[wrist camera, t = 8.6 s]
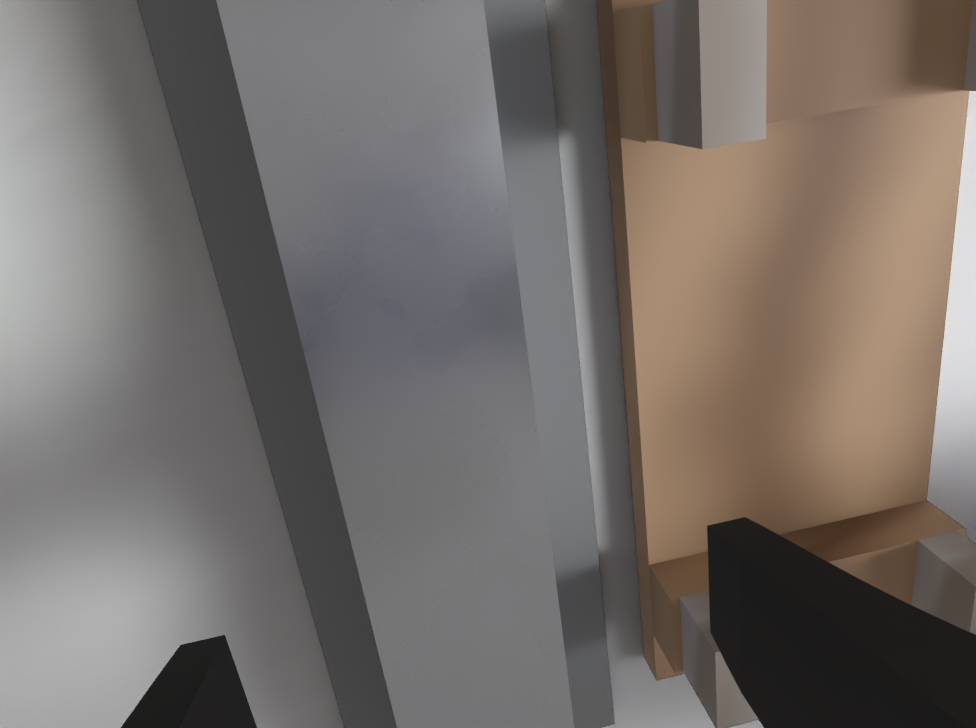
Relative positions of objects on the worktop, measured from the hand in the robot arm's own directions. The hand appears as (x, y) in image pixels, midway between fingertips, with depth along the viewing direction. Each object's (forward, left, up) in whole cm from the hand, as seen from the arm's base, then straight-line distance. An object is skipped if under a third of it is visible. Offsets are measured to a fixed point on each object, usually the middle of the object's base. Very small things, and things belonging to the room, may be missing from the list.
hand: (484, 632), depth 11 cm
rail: (0, 0, -8) cm, 8 cm away
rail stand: (-9, 0, -9) cm, 13 cm away
